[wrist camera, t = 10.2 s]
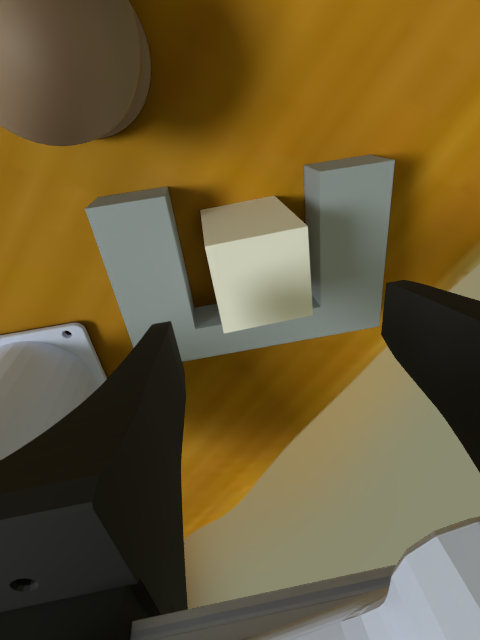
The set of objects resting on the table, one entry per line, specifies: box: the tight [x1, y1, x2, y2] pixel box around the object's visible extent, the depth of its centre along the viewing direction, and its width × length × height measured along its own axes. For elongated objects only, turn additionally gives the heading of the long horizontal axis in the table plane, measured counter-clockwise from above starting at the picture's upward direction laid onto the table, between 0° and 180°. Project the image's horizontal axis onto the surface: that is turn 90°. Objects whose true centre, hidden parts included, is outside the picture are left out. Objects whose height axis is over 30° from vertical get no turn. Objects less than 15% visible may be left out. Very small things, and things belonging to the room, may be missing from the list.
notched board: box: [85, 155, 395, 362], centre depth 19 cm, size 14×9×2 cm, turn 97°
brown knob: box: [0, 0, 151, 146], centre depth 13 cm, size 6×6×4 cm
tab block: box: [200, 196, 313, 333], centre depth 17 cm, size 4×4×6 cm
